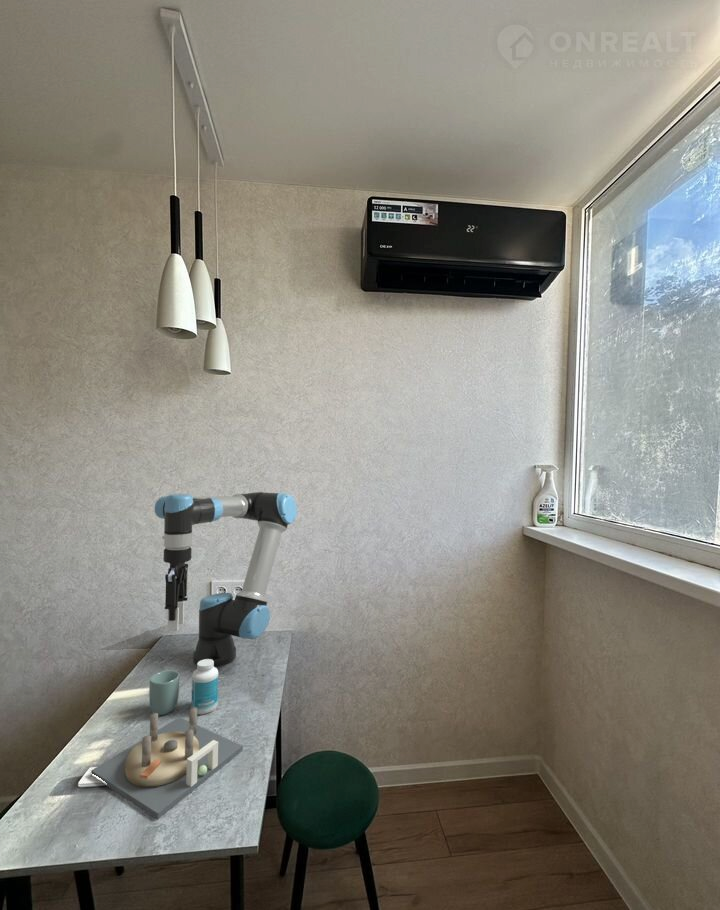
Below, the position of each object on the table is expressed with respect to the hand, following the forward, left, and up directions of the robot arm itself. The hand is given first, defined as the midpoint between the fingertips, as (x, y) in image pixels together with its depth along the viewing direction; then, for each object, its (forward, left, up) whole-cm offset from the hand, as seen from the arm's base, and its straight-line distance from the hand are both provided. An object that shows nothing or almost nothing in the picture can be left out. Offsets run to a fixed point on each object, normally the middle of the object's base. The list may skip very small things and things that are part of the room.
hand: (175, 627), depth 124 cm
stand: (+14, +17, -25) cm, 33 cm away
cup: (+1, -3, -25) cm, 25 cm away
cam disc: (+15, +17, -23) cm, 33 cm away
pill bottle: (-6, +6, -25) cm, 26 cm away
